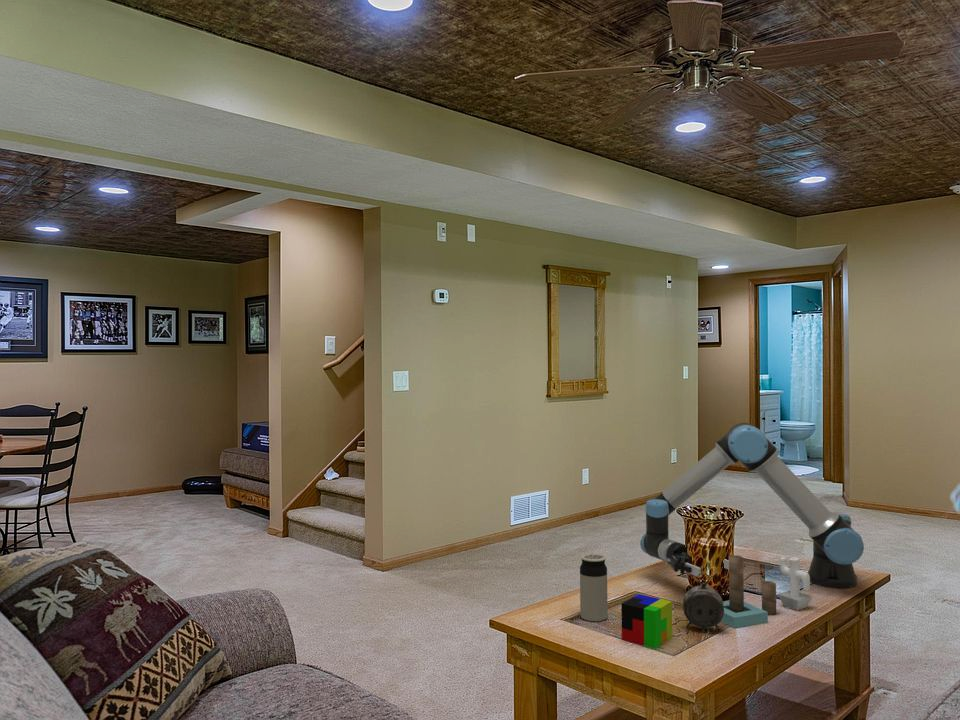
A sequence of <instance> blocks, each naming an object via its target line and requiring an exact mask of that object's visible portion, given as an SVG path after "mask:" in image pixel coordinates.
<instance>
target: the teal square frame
mask: <svg viewBox="0 0 960 720" xmlns="http://www.w3.org/2000/svg"><path fill="white" fill-rule="evenodd" d="M723 606H724V615H723V618H722V620H721V621H720V622H721V623H723V624H725V625H726V626H729V627H731V628H733V629H738V628H744V627H750V626H756V625H760V624H767V623H769V615H768V612H767V611H764V610H762V608H759V607H757V606H755V605H753V604H750V603H748V602H745V601H744V612H738V613H735V612H732V611H730V608H729V600H727V601H723Z"/></svg>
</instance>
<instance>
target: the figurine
mask: <svg viewBox="0 0 960 720" xmlns="http://www.w3.org/2000/svg"><path fill="white" fill-rule="evenodd" d="M787 560H789V567H788V561H787ZM779 570H780V574H781V575H782V576H785V577H788V578H789V590H787V591H783V592H779V593H776V596H778V598H779V600H780V601H781V603H782V605H783V606H784V607H785V608H788V607H789V608H788V609H791V608H792V609H791V610H794V609H795V611H800V610H803V608H804V609H806V608H807V607H808V605H809V604H810V602H811V601H812V598H813V597H814V596H813V595H810V594H807V593H803V592H801V589H800V588H801V587H800V586H801V583H800V582H802V590H803V591H806V592H807V591H810V589H811V581H810V576H809V574H808V571H803V570H801V562H800V558H799V557H796V556H793V557H790V558H788V559H787V557H786V556H781V557H780V558H779ZM799 609H800V610H799Z"/></svg>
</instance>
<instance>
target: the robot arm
mask: <svg viewBox="0 0 960 720" xmlns="http://www.w3.org/2000/svg"><path fill="white" fill-rule="evenodd" d="M738 462H740V463H741V465H742V466H744V468H745V469H746V470H747V471H748V472H749V473H756V474H757V475H758V476H759V477H760V478H761V479H762V480H763V481H764V483H766V484H767V485H768V486H769V488H770V489H771V490H772V491H773V492H774V493H775V494H776V495H777V497H779V498H780V499H781V500H782V502H784V504H786V506H787V507H788V508H789V510H791V511H792V512H793V513H794V514H795V515H796V517H797V518H798V519H799V520H800V521H801V522H802V523H803V524H804V525H805V526H806V527H807V528H808V536H809V537H810V539H812V545H813V547H812V549H813V551H812V553H813V555H812V556H813V557H812V559H811V562H810V565H809V569H808V570H807V573H808V574H809V576H810V583H814V584H816V585H820V586H823V587H830V588H838V589H839V588H841V589H844V588H853V587H857V585H858V576H857V574H856V573H855V568H854V565H853V564H854V563H856V562H858V561H859V560H860V558H861V557H862V556H863V553H864V550H865V547H864V546H865V545H864V541H863V538H862V536H861V534H859V533H858V532H857V531H856V530H854V529H853V528H852V526H851V525H852V520H851V516H850V515H848V514H844V513H838V512H832V511H830V510H829V509H828V508H827V506H825V504H823V502H821V501H820V499H818V498H817V496H815V494H814V493H813V492H812V491H811V489H809V488H808V487H807V486H806V485H805V484H804V483H803V482H802V480H800V478H799V477H798V476H797V475H796V474H795V473H794V472H793V471H792V470H791V468H789V467H788V466H787V465H786V464H785V462H784V461H783V460H781V458H780V457H779V456H778V448H777V447H776V446H775V445H774V444H773V443H772V441H770V440H769V439H768V437H766V435H765V434H764V432H763V431H762V430H760V429H759V428H757V426H755V425H754V424H751V423H747V422H740V423H737V424H734V425H733V426H732V427H730V429H729V430H728V431H727V432H726V433H725V434H724V435H723V436H722V437H721V438H720V439H719V440H718V441H716V442H715V447H714V448H713V449H712V450H710V451H709V452H708V453H707V454H706V455H704V456H703V457H702V458H701V459H700V460H699V461H697V462H696V463H695V464H694V465H692V466H691V467H690V468H689V469H688V470H686V471H685V472H684V473H683V474H682V475H681V476H680V477H678V478H677V479H676V480H675V481H673V482H672V483H671V484H670V485H669V486H668V487H666V488H665V489H664V490H663V491H662V492H661V493H659V494H658V495H657V496H656V497H652V499H648V500H647V501H646V502H645V526H646V527H645V528H646V529H645V533H643V535H642V536H641V539H640V542H639V543H640V544H639V546H640V549H641V550H642V552H643V553H645V554H646V555H648V556H650V557H653V558H656V559H658V560H661V561H663V562H666V563H667V564H668V565H670V567H671V568H672V570H673V571H674V572H679V573H680V574H681V575H684V574H685V573H687V574H690V575H691V576H694V577H696V578H697V576H698V575H699V574H700V573H702V568H701V567H699V566H697V565H695V564H692V557H691V556H689V555H687V553H686V552H687V547H685V545H686V544H683V543H681V542H678V541H676V540H673V539H670V538H669V517H670V515H671V514H672V513H673V512H674V511H676V510H677V509H678V508H679V507H680V506H681V505H683V504H684V503H685V502H686V501H687V500H689V499H690V498H691V497H693V496H694V495H695V494H696V493H697V492H698V491H700V490H701V489H702V488H703V487H705V486H706V485H707V484H708V483H709V482H710V481H712V480H713V479H714V478H715V477H716V476H718V475H719V474H720V473H722V471H724V470H726V468H727V467H729V466H730V465H732V464H733V465H736V464H737V463H738ZM723 563H724V569H725V570H728V571H729V559H728V560H727V559H724V560H723ZM701 577H702V574H701V575H699V577H698V578H701Z"/></svg>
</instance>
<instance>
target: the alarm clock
mask: <svg viewBox="0 0 960 720" xmlns="http://www.w3.org/2000/svg"><path fill="white" fill-rule="evenodd" d="M699 575H701V576H702V575H706V576H707V578H708V581H706V582H704V581H703V582H700V580H699V578H700V577H699ZM699 575H698V576H697V577H696V578H697V579H696V580H697V582H698V583H699V584H701V585H696V586H693V587H691V588H690V589H688V590H687V592H686V593H685V594H684V596H683V600H682V605H683V607H682V608H683V614H684V616H685V617H686V619H687V620H688V623H687V624H686V628H689V627H690V626H691V625H693V626H695V627H697V628H701V632H702V634H704V633H705V632H706V631H705V629H710V628H711V629H712V628H714V627H715V628H716V629H717V631H721V628H719V625H718V624H720V622H721V620H722V618H723V615H724V606H723V602H724V601H723V598H722V596H721V595H720V593H719V592H718V591H717V590H715V589H714V588H712V587H710V586H709V585H708V586H707V584H708V583H709V582H710V576H709V574H707V573H706V572H701V573H700V574H699Z"/></svg>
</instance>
